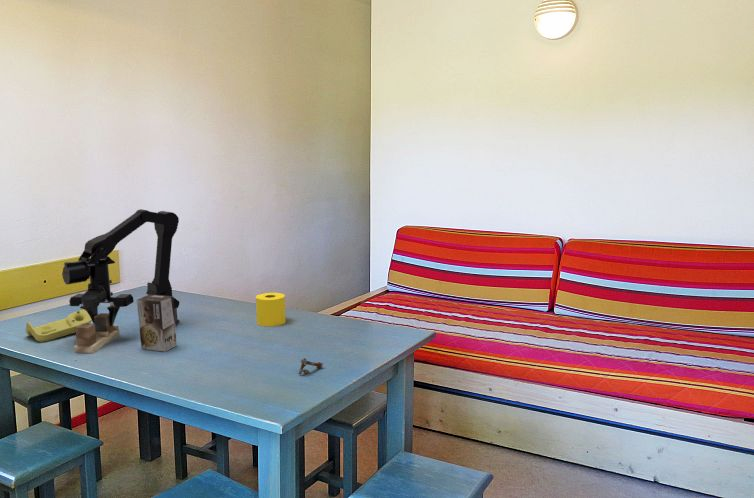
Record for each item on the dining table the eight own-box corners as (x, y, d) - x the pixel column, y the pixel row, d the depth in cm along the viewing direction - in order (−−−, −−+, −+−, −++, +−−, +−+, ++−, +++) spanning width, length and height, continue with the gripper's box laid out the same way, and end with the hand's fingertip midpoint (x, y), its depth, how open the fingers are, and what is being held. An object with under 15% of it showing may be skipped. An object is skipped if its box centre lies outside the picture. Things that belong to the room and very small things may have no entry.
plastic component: (38, 337, 200) (25, 319, 205) (38, 354, 204) (25, 336, 208) (99, 318, 214) (85, 302, 219) (98, 335, 218) (84, 318, 223)
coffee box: (177, 345, 198) (174, 295, 195) (164, 352, 192) (160, 301, 189) (153, 342, 201) (150, 293, 198) (140, 349, 195) (136, 298, 192)
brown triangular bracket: (294, 373, 172) (299, 356, 173) (314, 376, 178) (319, 361, 179) (299, 374, 171) (303, 358, 172) (319, 378, 177) (323, 362, 178)
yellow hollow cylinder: (255, 319, 225) (254, 293, 223) (283, 317, 228) (282, 291, 226) (258, 327, 216) (257, 300, 214) (287, 324, 218) (286, 298, 217)
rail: (119, 335, 208) (117, 311, 207) (93, 352, 192) (91, 327, 190) (102, 334, 209) (100, 311, 207) (74, 352, 192) (72, 327, 191)
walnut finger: (113, 331, 206) (112, 313, 205) (106, 335, 202) (105, 316, 201) (101, 331, 206) (100, 313, 206) (94, 334, 202) (93, 316, 201)
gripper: (57, 284, 194) (62, 333, 197) (116, 285, 192) (120, 334, 195) (76, 276, 205) (81, 322, 207) (132, 276, 203) (136, 323, 206)
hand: (103, 325), depth 204 cm, fingers open, 5 cm apart
